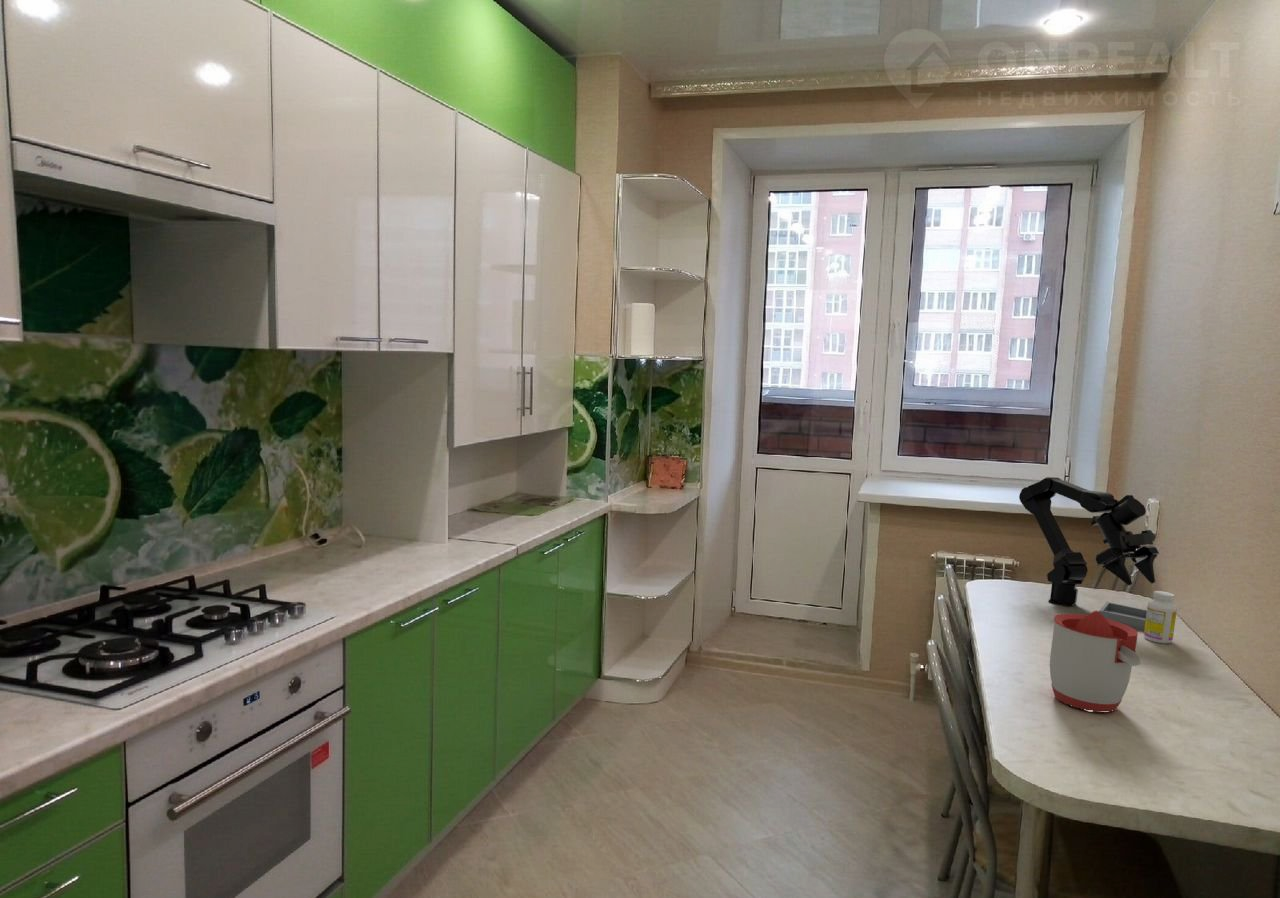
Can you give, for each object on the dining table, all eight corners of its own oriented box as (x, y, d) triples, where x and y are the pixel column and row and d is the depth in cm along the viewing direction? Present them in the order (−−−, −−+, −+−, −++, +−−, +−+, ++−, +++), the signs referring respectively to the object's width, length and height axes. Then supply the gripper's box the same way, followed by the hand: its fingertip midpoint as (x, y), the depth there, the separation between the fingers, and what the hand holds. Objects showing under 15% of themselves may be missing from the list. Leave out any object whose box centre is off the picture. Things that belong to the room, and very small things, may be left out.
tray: (1097, 620, 242) (1099, 610, 242) (1105, 611, 252) (1106, 601, 252) (1149, 631, 235) (1150, 621, 234) (1154, 622, 245) (1156, 611, 245)
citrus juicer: (1103, 727, 168) (1116, 628, 166) (1027, 693, 184) (1039, 602, 181) (1151, 716, 176) (1165, 621, 173) (1075, 684, 191) (1086, 597, 188)
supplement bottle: (1164, 637, 231) (1171, 591, 229) (1177, 645, 224) (1184, 597, 223) (1138, 634, 231) (1145, 588, 230) (1150, 643, 225) (1157, 595, 223)
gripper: (1114, 520, 232) (1142, 573, 224) (1160, 518, 240) (1189, 569, 232) (1083, 538, 241) (1109, 590, 233) (1128, 536, 248) (1155, 586, 240)
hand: (1142, 583), depth 234 cm, fingers open, 9 cm apart
